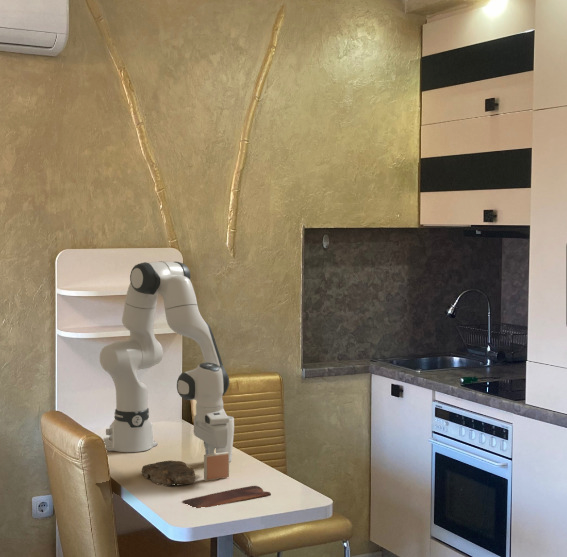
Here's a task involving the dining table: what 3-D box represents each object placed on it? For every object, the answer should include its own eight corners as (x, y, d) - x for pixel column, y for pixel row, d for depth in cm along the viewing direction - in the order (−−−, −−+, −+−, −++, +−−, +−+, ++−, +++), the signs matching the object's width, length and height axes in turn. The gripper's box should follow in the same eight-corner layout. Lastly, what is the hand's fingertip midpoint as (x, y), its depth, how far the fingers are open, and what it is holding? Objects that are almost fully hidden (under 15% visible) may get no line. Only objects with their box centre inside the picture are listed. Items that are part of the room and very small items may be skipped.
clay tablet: (205, 485, 272) (179, 468, 290) (205, 470, 272) (179, 453, 289) (163, 493, 265) (139, 475, 283) (163, 477, 265) (139, 460, 282)
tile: (203, 479, 278) (204, 454, 277) (226, 476, 281) (227, 451, 281) (206, 481, 276) (206, 456, 275) (229, 477, 280) (229, 453, 279)
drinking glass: (212, 459, 301) (212, 416, 300) (231, 457, 303) (231, 415, 302) (216, 464, 294) (216, 420, 293) (236, 463, 296) (236, 419, 295)
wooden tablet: (193, 507, 248) (178, 493, 257) (193, 514, 249) (178, 500, 257) (273, 492, 262) (257, 480, 271) (273, 499, 263) (256, 487, 271)
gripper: (188, 408, 290) (188, 449, 291) (212, 421, 272) (212, 464, 273) (206, 406, 293) (206, 447, 294) (231, 419, 275) (231, 462, 276)
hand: (209, 455), depth 284 cm, fingers closed
